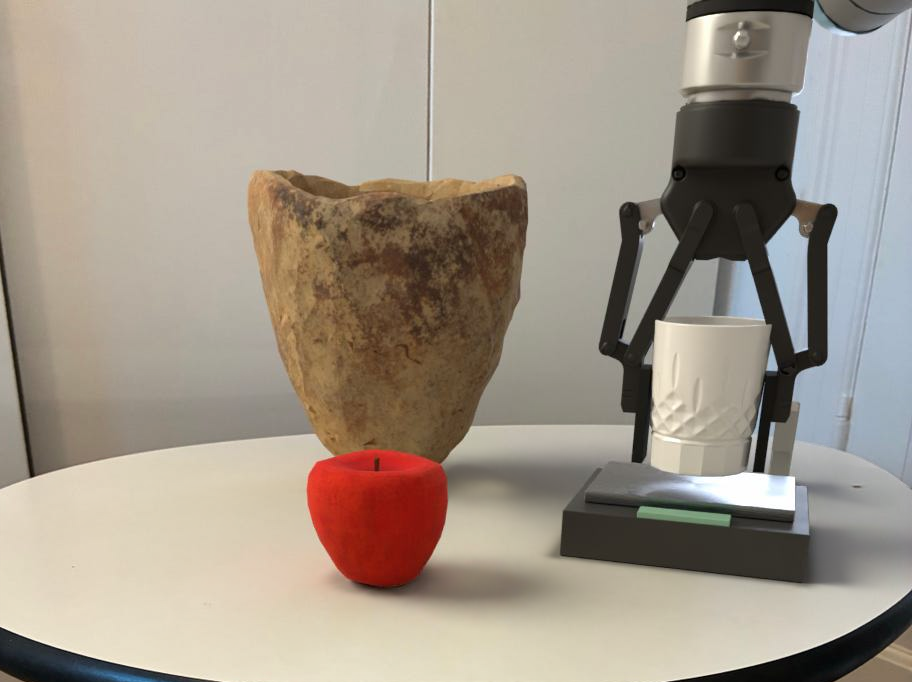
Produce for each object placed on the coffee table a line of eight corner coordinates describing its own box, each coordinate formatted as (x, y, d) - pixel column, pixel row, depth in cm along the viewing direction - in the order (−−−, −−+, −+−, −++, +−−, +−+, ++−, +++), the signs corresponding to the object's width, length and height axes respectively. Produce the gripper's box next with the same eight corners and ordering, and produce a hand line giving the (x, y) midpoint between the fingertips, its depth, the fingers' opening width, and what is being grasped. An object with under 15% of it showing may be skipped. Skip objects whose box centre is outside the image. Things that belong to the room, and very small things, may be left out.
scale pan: (793, 487, 77) (795, 476, 77) (793, 522, 68) (795, 510, 67) (608, 470, 81) (608, 460, 80) (584, 501, 72) (584, 490, 71)
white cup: (618, 465, 73) (630, 318, 69) (684, 450, 78) (698, 313, 74) (712, 486, 68) (731, 328, 64) (777, 469, 72) (797, 321, 69)
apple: (310, 556, 69) (306, 441, 66) (438, 555, 70) (441, 441, 67) (307, 602, 61) (304, 473, 58) (453, 600, 62) (457, 472, 59)
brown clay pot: (244, 509, 80) (225, 158, 71) (275, 450, 101) (263, 172, 92) (528, 511, 81) (548, 165, 72) (501, 452, 102) (513, 177, 92)
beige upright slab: (767, 479, 93) (780, 390, 90) (787, 481, 93) (801, 391, 90) (764, 497, 87) (778, 402, 84) (785, 499, 86) (800, 404, 83)
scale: (801, 527, 79) (808, 481, 77) (802, 582, 66) (811, 529, 65) (594, 506, 83) (597, 462, 82) (559, 555, 71) (562, 504, 69)
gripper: (565, 98, 64) (545, 462, 72) (923, 91, 58) (854, 488, 66) (587, 110, 70) (566, 443, 79) (910, 105, 64) (849, 464, 73)
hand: (697, 463), depth 73 cm, fingers closed on white cup, 8 cm apart
